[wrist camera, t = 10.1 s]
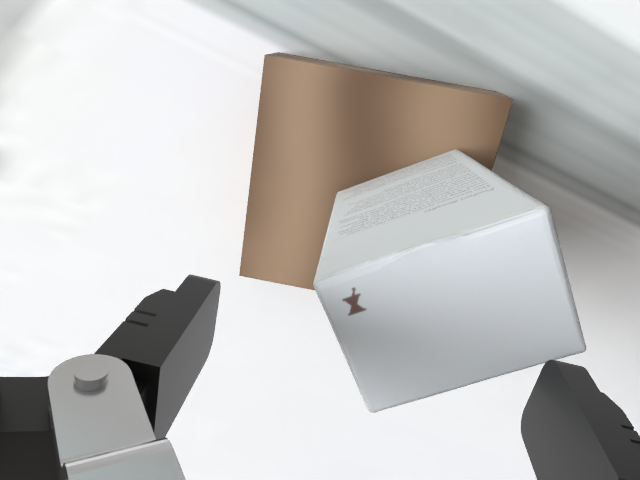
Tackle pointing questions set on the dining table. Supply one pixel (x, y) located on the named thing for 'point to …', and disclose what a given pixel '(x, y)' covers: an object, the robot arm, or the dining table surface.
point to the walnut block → (345, 149)
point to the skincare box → (443, 281)
